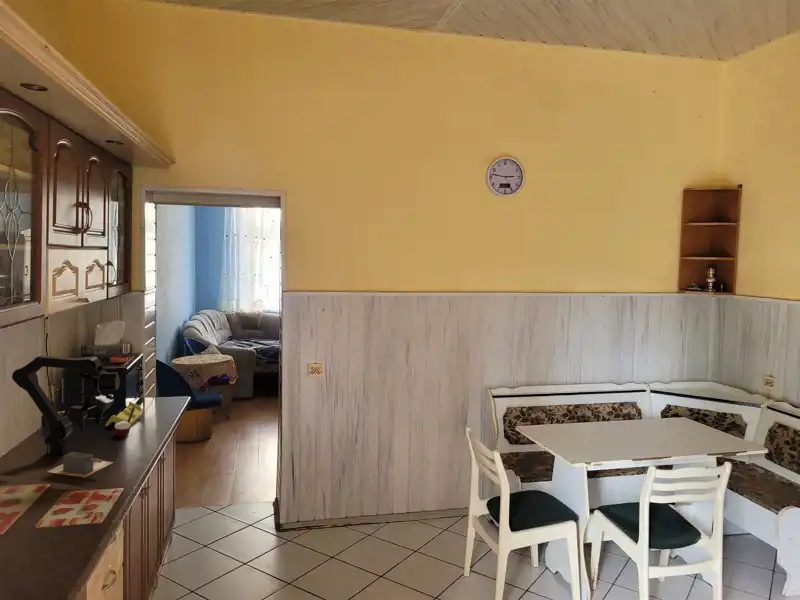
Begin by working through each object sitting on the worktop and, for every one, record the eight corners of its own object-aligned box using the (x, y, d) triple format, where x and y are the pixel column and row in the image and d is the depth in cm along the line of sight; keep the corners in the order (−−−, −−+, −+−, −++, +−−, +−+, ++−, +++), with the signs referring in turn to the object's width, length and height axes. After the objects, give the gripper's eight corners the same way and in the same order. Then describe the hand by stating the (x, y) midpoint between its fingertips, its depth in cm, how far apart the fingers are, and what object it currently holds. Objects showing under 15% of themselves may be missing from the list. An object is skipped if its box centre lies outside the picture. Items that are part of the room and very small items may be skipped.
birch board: (46, 475, 225) (46, 471, 225) (77, 461, 241) (77, 457, 241) (84, 481, 222) (84, 476, 222) (113, 466, 238) (113, 462, 238)
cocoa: (111, 438, 271) (110, 412, 269) (113, 433, 277) (111, 408, 275) (134, 436, 274) (133, 410, 272) (135, 431, 280) (135, 406, 278)
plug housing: (63, 471, 226) (63, 455, 225) (71, 467, 230) (72, 451, 230) (96, 476, 223) (97, 460, 223) (105, 472, 228) (105, 456, 227)
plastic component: (130, 423, 285) (110, 413, 284) (123, 436, 286) (103, 427, 285) (145, 408, 305) (126, 399, 304) (138, 421, 306) (120, 412, 304)
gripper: (92, 396, 234) (92, 436, 235) (123, 385, 252) (123, 423, 253) (66, 393, 236) (66, 433, 237) (99, 383, 254) (99, 420, 255)
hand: (90, 427), depth 246 cm, fingers open, 9 cm apart
